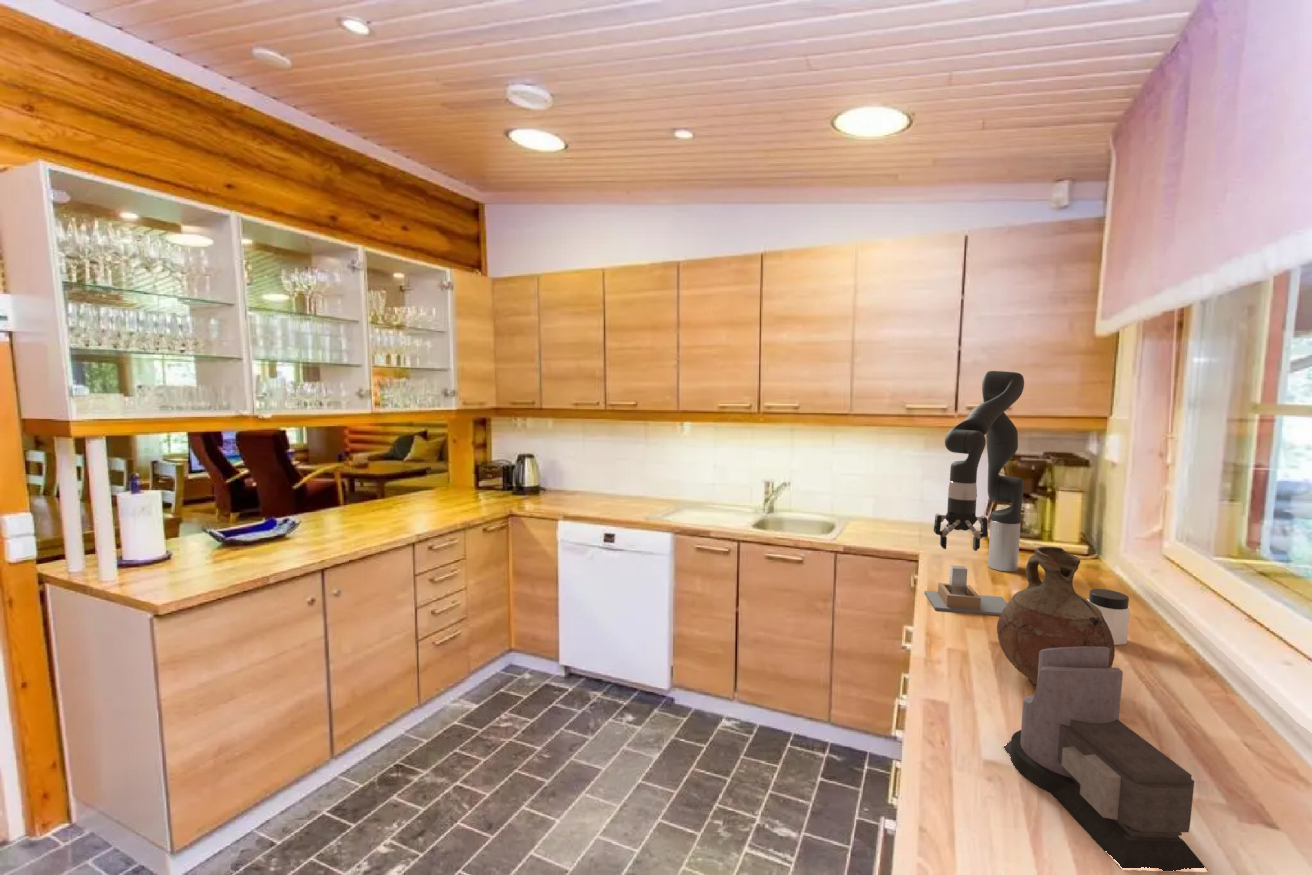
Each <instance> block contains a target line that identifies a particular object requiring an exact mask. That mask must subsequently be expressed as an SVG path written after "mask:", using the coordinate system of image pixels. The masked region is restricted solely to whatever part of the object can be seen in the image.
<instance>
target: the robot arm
mask: <svg viewBox="0 0 1312 875" xmlns="http://www.w3.org/2000/svg"><path fill="white" fill-rule="evenodd" d="M1024 387H1025V379H1024V375H1022V374H1021V373H1019V372H1015V371H1004V370H1001V371H1000V370H989V371H987V372H986V373H984V375H983V378H982V383H981V390H982V391H981V393H982V398H983V399H982V400H983V402H982V403H980V404H979V405H977V406H975V407H974V408H973V409H972V410H971V411H970V413H969V414H968V415H967V417H966V418H965V419H964V420H963V421H960V422H959V423H958V424H956V425H954V426H953V428H951V429H950V430H949V431H948V432H947V434H946V436H945V438H944V445H945V448H946V449H947V450H948V451H949V452H951V453H954V454H956V453H957V454H967V457H966V459H965V460H958V461H953V462H951V465H950V472H949V476H950V477H949V484H948V489H947V490H948V492H947V493H948V494H947V512H946V514H940V513H936V514H935V516H934V524H933V533H935V534H936V535H937V536H940V539H939V545H940V547H941V548H942V549H943V550H947V542H948V540H947V539H948V538H947V536H948V535H949V534H950V533H951V532H952V531H954V530H955V531H960V530H961V531H970V532H971V533H972V535H973V537H972V550H973V551H975V552H978V550H980V549H981V548H980V547H981V539H983V538H987V537H988V534H989V541H988V554H987V556H988V558H987V567H988V568H990V569H992V570H995V571H1000V572H1009V573H1010V572H1011V573H1012V572H1017V571H1018V569H1019V567H1018V566H1019V555H1020V553H1019V552H1020V541H1021V540H1020V537H1021V522H1022V507H1023V498H1024V490H1025V483H1024V480H1023V478H1022V477H1017V476H1016V477H1015V476H1006V475H1000V472H1001V470H1002V469H1003V468H1004V467H1005V465H1006V464H1007V463H1008V462H1009V461H1010V460H1011V459H1012V457H1013V456H1014V455H1015V454H1016V453H1017V451H1018V448H1019V437H1018V436H1019V434H1018V433H1019V432H1018V429H1017V427H1016V425H1015V424H1014V423H1013V421H1012V420H1011V419H1010V417H1009V416H1008V415H1007V414H1006V413H1005V412H1006V411H1007V410H1009V408H1010V407H1012V406H1013V405H1014V404H1015V403H1016V402H1017V401H1018V400H1019V398H1020V397H1021V396H1022V394H1023V392H1024ZM985 448H986V450H987V463H988V466H987V468H988V470H987V496H988V498H989V500H991V501H994V502H1001V503H1008V504H1009V503H1010V506H1008V507H1006V508H1002V509H998V510H993V511H991V513H990V523H989V527H988V521H989V520H988V518H987V517H986V516H985V515H981V516H977V515H976V514H977V511H976V510H977V497H978V486H977V481H978V480H977V479H978V478H977V474H978V468H979V465H980V464H979V463H980V461H981V458H982V454H983V453H984V450H985ZM944 521H946V522H947V523H946V524H945V525H944V527H943V528H942V529H941V527H942V526H941V525H942V523H943V522H944ZM977 522H978V523H979V524H980V532H978V530H977V529H976V528H975V526H974V525H975V524H976V523H977ZM988 528H989V531H988ZM988 532H989V533H988Z"/></svg>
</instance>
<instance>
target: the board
mask: <svg viewBox="0 0 1312 875" xmlns="http://www.w3.org/2000/svg"><path fill="white" fill-rule="evenodd" d="M924 595H925V596H926V599H927V600H928V601H929V603H930V605H931V606H932V608H933V609H934V610H935V611H942V612H953V613H966V614H978V615H989V616H999V617H1000V615H1001V613H1002V611H1003V609H1004V608H1005V606H1006V605H1007V603H1008V602H1007V601H1006V600H1005V599H1004V597H1003V596H996V595H995V596H993V595H992V596H991V595H981V594H978V593H977V592H976V591H975V589H973V587H972V586H971V585H969V584H967V585H966V595H954V594H950V592H949V583H944V582H938V586H937V591H931V590H924Z"/></svg>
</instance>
